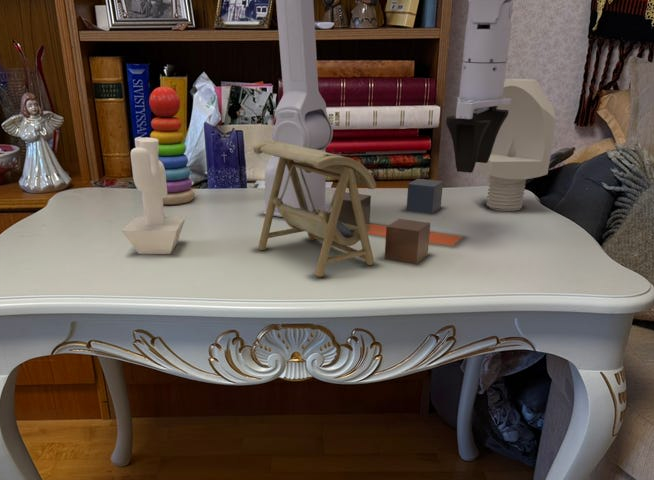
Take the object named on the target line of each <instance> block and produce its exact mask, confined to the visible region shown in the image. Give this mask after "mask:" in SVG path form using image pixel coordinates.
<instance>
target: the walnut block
mask: <svg viewBox="0 0 654 480" xmlns="http://www.w3.org/2000/svg"><path fill="white" fill-rule="evenodd" d="M386 226H387V227H386V236H385V245H384V260H386V261H387V260H388V261H393V262H399V263H403V264H404V263H406V264H411V265H418V264H419V263H420V262H421V261H422V260H424V259H425V258H426V257H427V256H428V255H429V245H430V243H429V235H430V232H431V222H427V221H420V220H412V219H404V218H397V219H396V220H395V221H393V222H392V223H390V224H388V225H386Z"/></svg>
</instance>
